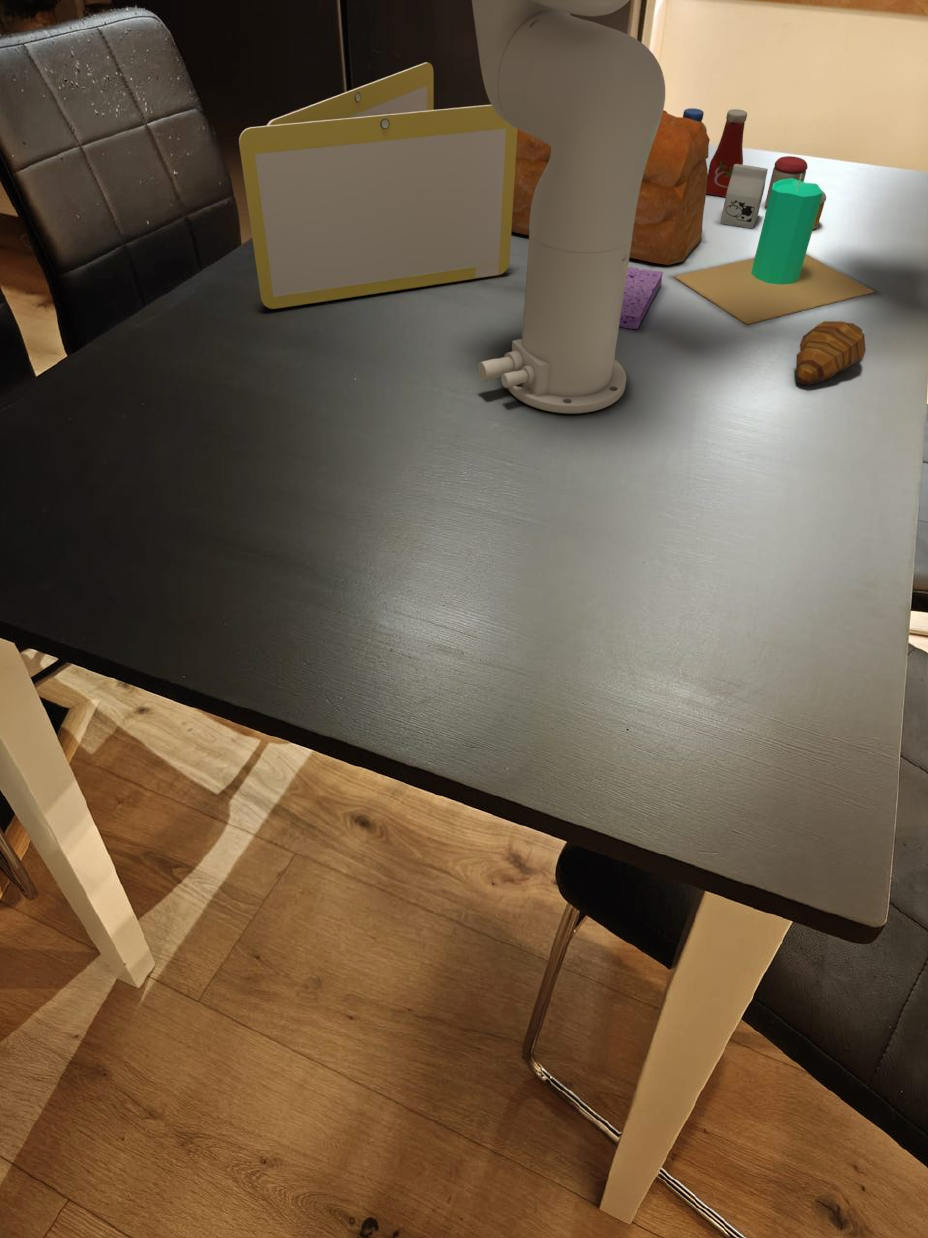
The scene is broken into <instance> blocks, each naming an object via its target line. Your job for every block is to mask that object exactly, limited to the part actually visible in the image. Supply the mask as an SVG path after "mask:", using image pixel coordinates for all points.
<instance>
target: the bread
mask: <svg viewBox="0 0 928 1238" xmlns="http://www.w3.org/2000/svg"><path fill="white" fill-rule="evenodd" d="M702 123H703V121H702V122H698V121H695V120H692V119H689V118H683V116H682V117H681V116H676V115H673V114H670V113H668V112H667V113H662V118H661V121H660V124H659V127H658V130H657V133H656V136H655V139H654V142H653V145H652V148H651V150H650V153H649V157H648V160H647V163H646V166H645V170H644V174H643V178H642V182H641V187H640V192H639V197H638V202H637V208H636V214H635V221H634V227H633V234H632V242H631V249H630V256H629V259H634V260H640V261H644V262H649V263H655V264H662V265H666V266H670V265H671V266H672V265H675V264H677V263H681V262H684V261H685V260H686V258H687V257H688V256H689V254H690V253H691V252H692V251H693V249H694V248H696V246H697V245H698V244H699V243H700V242H701V241H702V237H703V236H702V234H703V222H704V212H705V211H704V210H705V204H706V197H707V193H706V188H707V179H708V171H709V168H708V163H707V159H708V158H709V150H710V149H709V147H710V142H711V141H710V137H709V135H708V132H707V133H706V131H705V128H704V126H703V124H704V123H703V124H702ZM550 155H551V146H550V145H548V144H546V143H544V142H543V141H541V140H540V139H538V138H536V137H534V136H532V135H529V134H527V133H525V132H523V131H521V130H519V129H518V130H517V147H516V163H515V179H514V196H513V212H512V229H511V232H513V233H517V234H521V235H525V236H529V233H530V232H529V224H530V212H531V204H532V199H533V195H534V192H535V189H536V186H537V184H538V182H539V180H540V178H541V176H542V174H543V172H544V170H545V168H546V166H547V164H548V161H549V159H550Z"/></svg>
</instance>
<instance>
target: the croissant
mask: <svg viewBox="0 0 928 1238" xmlns="http://www.w3.org/2000/svg"><path fill="white" fill-rule="evenodd" d="M865 339H866V338H865V333H863V328H861V327H860V326H858V325H857V324H855V323H854V322H846V321H841V320H840V321H839V320H835V321H833V320H831V321H829V320H824V321H822V322H820V323H818V324H816V325H815V326H814V327H813V328H812V329H810V330H809V331H807V333H806V334H804V335H803V336H802V339H801V341H800V344H799V352H798V353H797V354H796V358H795V359H796V360H795V361H796V365H795V368H796V369H795V370H796V381H797V382H798V383H799V384H801V385H807V386H810V385H815V384H819V383H822V382H824V381H827V380H829V379H832V378H833V377H834V376H835V375H837V374H840V373H842V372H843V371H845V370H846V369H848V368H850V367H851V366H853V365H854V364H855V363H856V362H858V361H860V360H861V359H863V358H864V357H865V355H866V352H867V351H866V340H865Z"/></svg>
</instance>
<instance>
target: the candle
mask: <svg viewBox="0 0 928 1238" xmlns="http://www.w3.org/2000/svg"><path fill="white" fill-rule="evenodd" d="M801 177H802V173H801V176H800V179H799V180H796V179H793V178H790V179H784V180H779V181H777V182H775V183H773V185H772V189H771V194H770V198H769V202H768V206H767V207H766V209H765V213H764V218H763V222H762V226H761V230H760V234H759V238H758V243H757V246H756V247H757V248H756V251H755V255H754V258H755V259H754V263H753V267H752V272H751V274H752V275H753V276H754V277H755V278H757V279H759V280H761V281H764V282H767V283H772V284H779V285H781V284H792V283H794V282H795V281H797V280H799V276H800V273H801V269H802V266H803V262H804V259H805V255H806V254H807V252H808V247H809V245H810V241H811V237H812V233H813V230H814V229H813V227H814V223H815V220H816V216H817V213H818V209H819V206H820V202H821V199H822V195H823V192H824V191H823V190H822V189H821V187H820V186H819V184H817V183H812V182H805V181H804V182H802V181H800V180H801Z"/></svg>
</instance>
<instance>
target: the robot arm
mask: <svg viewBox="0 0 928 1238" xmlns="http://www.w3.org/2000/svg"><path fill="white" fill-rule="evenodd" d="M628 2H630V0H471V4H472V5H471V6H472V12H473V13H472V14H473V21H474V28H475V36H476V43H477V50H478V51H477V52H478V57H479V65H480V71H481V76H482V81H483V85H484V89H485V93H486V95H487V98H488V100H489V103H490V105H492V106H493V108H494V110H495V111H496V112H497V114H498V115H499V116H500V117H501V118H502V119H503V120H504V121H506V122H507V123H509V124H510V125H512V126H513V127H515V128H517V129H519V130H521V131H523V132H525V133H527V134H529V135H532V136H534V137H536V138H538V139H540V140H541V141H543V142H544V143H546V144H548V145H550V146H551V155H550V159H549V161H548V164H547V166H546V168H545V170H544V172H543V174H542V176H541V178H540V180H539V182H538V184H537V186H536V189H535V192H534V195H533V199H532V204H531V212H530V224H529V232H530V233H529V235H528V248H527V249H528V250H527V263H526V277H525V290H524V291H525V293H524V305H523V318H522V333H521V334H522V335H521V338H519V339H513V340H512V345H511V351H508V352H506V353H505V354H504V356H503V357H499V358H491V359H488V360H483V361H479V362H478V364H477V374H478V377H479V379H480V381H482V382H487V381H492V380H496V379H500V381H501V385H502V386H503V388H505V389H507V390H508V391H509V393H510V394H511V395H512V396H514V397H515V398H516V399H517V400H519V401H520V402H522V403H524V404H525V405H527V406H530V407H533V408H534V409H538V410H542V411H546V412H549V413H550V412H551V413H557V414H567V415H568V414H570V415H571V414H585V413H591V412H595V411H599V410H603V409H605V408H607V407H610V406H612V405H613V404H614V403H616V402H617V401H619V400H620V399H621V397H622V396H623V395H624V393H625V390H626V385H627V374H626V373H627V372H625V370H624V368H623V366H622V365H621V364H620V362H619V361H617V360H616V359H615V356H616V350H617V343H618V337H619V330H620V326H619V324H620V317H621V310H622V303H623V296H624V290H625V283H626V276H627V269H628V268H629V263H630V257H629V256H630V249H631V242H632V234H633V227H634V221H635V214H636V208H637V202H638V197H639V192H640V187H641V182H642V178H643V174H644V170H645V166H646V163H647V160H648V157H649V153H650V150H651V148H652V145H653V142H654V139H655V136H656V133H657V130H658V127H659V124H660V121H661V118H662V113H663V110H664V108H665V104H666V81H665V77H664V73H663V70H662V67H661V65H660V63H659V61H658V59H657V58H656V56H655V54H654V53H653V52H652V51H651V50H650V49H649V48H648V47H647V46H646V45H645V44H644V43H642V42H641V41H639V40H638V39H637V38H635V37H633V36H631V35H630V34H628V33H625V32H623V31H621V30H618V29H615V28H613V27H610V26H606V25H603V24H601V23H597V22H594V21H590V20H587V19H582V18H579V17H576V16H584V17H600V16H606V15H609V14H610V15H611V14H612V13H615V12H616V11H618V10H620V9H621V8H623V7H624V6H625V5H627V4H628ZM571 14H572V15H571ZM573 15H576V16H573Z"/></svg>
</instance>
